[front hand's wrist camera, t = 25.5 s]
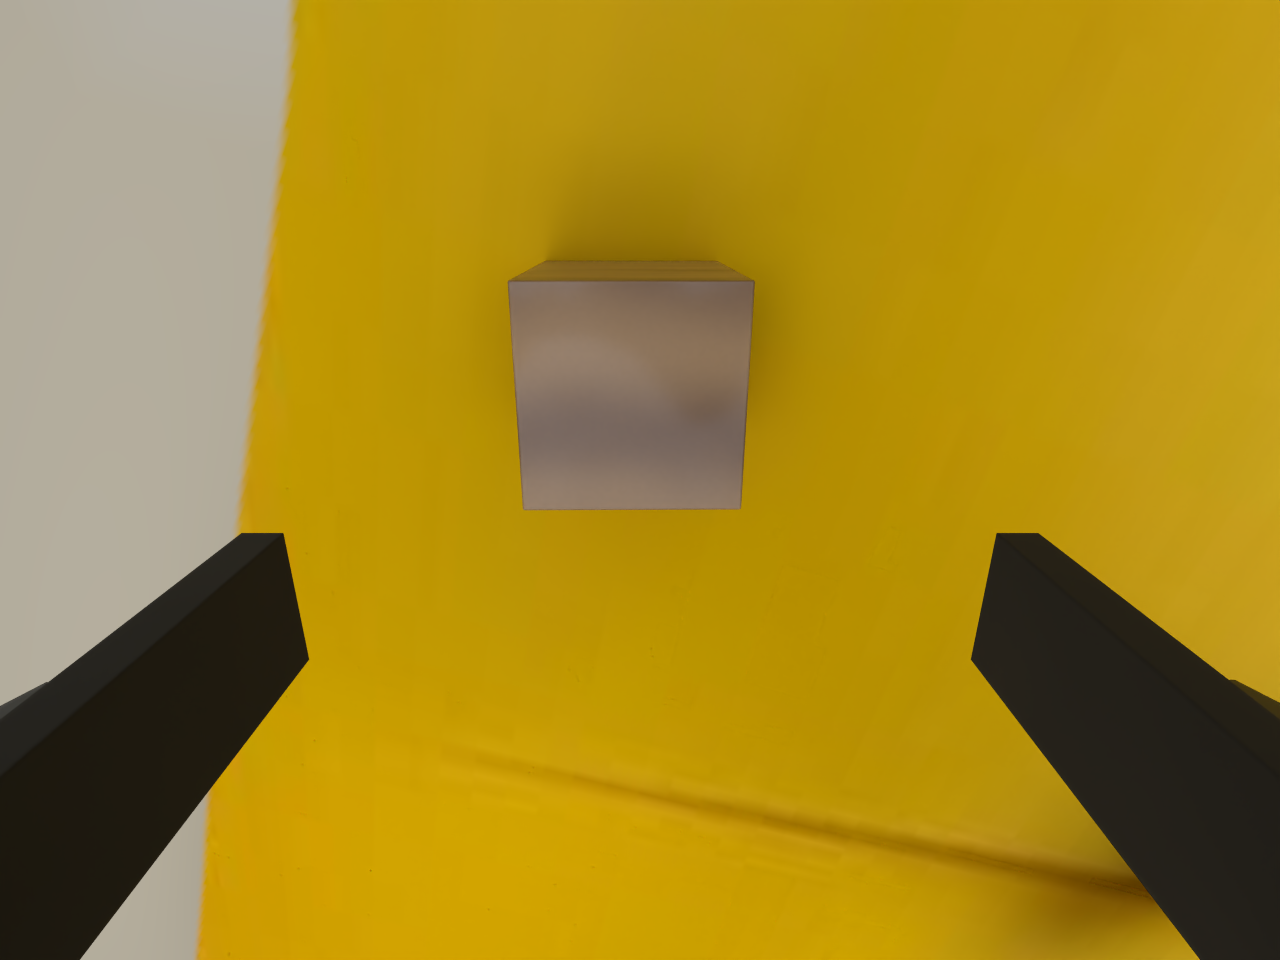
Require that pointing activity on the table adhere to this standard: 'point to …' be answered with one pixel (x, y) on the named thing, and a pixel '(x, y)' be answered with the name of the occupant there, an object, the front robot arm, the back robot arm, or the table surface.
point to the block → (631, 384)
